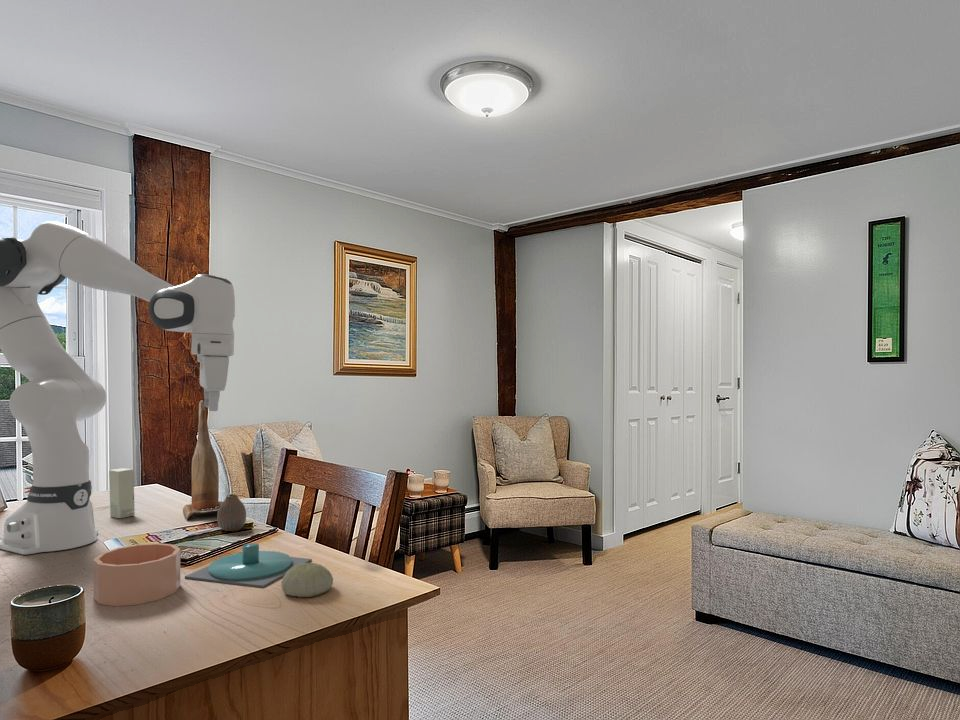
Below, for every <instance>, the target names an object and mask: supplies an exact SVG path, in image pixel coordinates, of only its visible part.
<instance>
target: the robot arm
mask: <svg viewBox="0 0 960 720" xmlns="http://www.w3.org/2000/svg"><path fill="white" fill-rule="evenodd" d="M65 279H69V280H71V281H72V282H73V283H77V284H79V285H82V286H84V287H88V288H91V289H93V290H98V291H106V292H110V293H111V292H113V293H119V294H122V295H123V294H124V295H129V296H134V297H136V298H139V299H142V300H144V301H146V302H148V316H149V319H150V320H151V322H152V323H153V325H154V326H155V327H157V328H159V329H161V330H164V331H168V332H175V333H176V332H178V333H188V334H191V344H190V345H191V349H190V350H191V351H190V352H191V353H190V354H191V355H195V356H196V358H197V359H196V362H197V363H199V364H200V365H199V386H201V387H202V388H203V396H204V406H205V408H208V410H209V412H217V411H219V400H220V397H221V396H220V395H221V392H223V391H225V389H226V386H227V381H228V375H229V364H230V357H232V356H234V355H235V353H234V351H235V331H234V327H233V325H234V319H235V316H236V314H235V313H236V301H235V300H236V298H235V297H236V296H235V289H234V286H233V283H232V282H231V281H230V280H228V279H227V278H223V277H221V276H216V275H212V274H208V273H207V274H205V273H200V274H197V275H196V276H194V277H193V278H192V279H190V280H189V281H187V282H185V283H182V284H179V285H174V284H172V283H170V282H168V281H167V280H165V279H163V278H160V277H158V276H157V275H155V274H153V273H151V272H149V271H147V270H146V269H144V268H142V267H141V266H140V265H138V264H137V263H135V262H134V261H132V260H131V259H129V258H128V257H126V256H125V255H123V254H121V253H120V252H119V251H117V250H116V249H114V248H113V247H112V246H110V245H108V244H107V243H105V241H104V242H103V241H102V240H100V239H99V238H97V237H95V236H94V235H91V234H89V233H87V232H86V231H83V230H81V229H79V228H76V227H74V226H71V225H68V224H65V223H62V222H59V221H53V220H52V221H51V220H50V221H45V222H43V223H40V224H39V225H38V226H36V227H35V228H34V229H33V231H32V233H31V235H30V237H29V238H27V239H22V238H21V239H17V237H14V236H12V237H11V236H8V237H0V350H1V353H2V354H3V356H4V358H5V360H6V361H7V363H8V365H9V366H10V367H11V368H12V369H13V370H14V371H16V372H18V373H20V374H21V375H22V376H24V377H25V378H26V379H27V380H28V381H27V382H24V383H22V384H20V385H18V386H17V387H16V388H15V389H14V390H13V391H12V393H11V395H10V396H9V397H10V398H9V402H8V404H9V410H10V413H11V414H12V416H13V418H14V419H15V420H16V421H17V422H18V423H19V424H20V425H22V427H23V429H24V431H25V433H26V436H27V438H28V442H29V445H30V448H31V453H32V485H31V486H28V487H24V490H25V491H24V492H23V493H24V494H28V495H27V498H26V502H24V504H22V505H21V506H20V507H19V508H18V509H16V510H15V511H14V512H12V513H11V514H10V515H9V516H8V517H7V518H6V519H5V521H4V524H3V526H4V527H3V536H1V537H0V550H4V551H8V552H12V553H15V554H20V555H32V554H39V553H44V552H45V553H47V552H57V551H62V550H63V551H64V550H69V549H75V548H79V547H83V546H86V545H89V544H92V543H93V542H96V541H97V539H98V534H99V529H98V528H96V524H95V514H94V506H93V502H92V500H91V496H92V489H93V488H92V487H93V485H92V481H91V479H90V450H89V447H88V446H87V444H86V443H85V442H84V441H83V439H82V438H81V435H80V433H79V432H80V431H79V430H78V426H77V422H81V421H85V420H88V419H89V418H92V417H94V416H95V415H96V414H98V413H100V412H101V411H102V410H103V409H104V407H105V405H106V400H107V394H106V391H105V388H104V386H103V385H102V384H101V383H100V382H99V381H97V380H96V379H94V378H92V377H91V376H90V375H89V374H88V373H87V372H86V371H85V370H83V368H82V367H81V366H80V365H79V364H78V363H77V362H76V361H75V359H74V358H73V357H72V356H71V355H70V353H68V351H67V350H66V349H65V348H64V347H63V344H62V343H61V342H60V340H59V339H58V337H57V335H56V333H55V332H54V330H53V328H52V326H51V324H50V322H49V321H48V319H47V317H46V315H45V314H44V312H43V310H42V309H41V307H40V305H39V302H38V296H39V295H40V296H43V295H48V294H50V293H51V291H53V290H54V288H56V287H57V286H58V285H60V284H62V283H63V282H64V281H65Z"/></svg>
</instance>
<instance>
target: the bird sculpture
mask: <svg viewBox="0 0 960 720" xmlns="http://www.w3.org/2000/svg"><path fill="white" fill-rule="evenodd" d="M210 437H211V436H210V432H209V425H208V420H207V413H206V407H205V401H204V400H203V399H201V400H200V401H199V405H198V425H197V441H196V446H195V448H194V452H193V456H192V459H191V503H190V504H185V505H184V506H183V508H182V513H183V516H184V519H185V521H188V519H189V518H190V517H191V516H192V515H195V513H201V512H210V511H218V509H219V507H220V505H221V504H222V503H223V501H222V500H221V501H220V500H219V496H220V495H219V493H220V492H219V488H220V485H219V482H220V475H219V462H218V457H217V455H216V451H215V449H214V447H213V445H212V442H211V438H210Z"/></svg>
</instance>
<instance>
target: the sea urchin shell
mask: <svg viewBox="0 0 960 720" xmlns="http://www.w3.org/2000/svg"><path fill="white" fill-rule="evenodd" d="M333 585H334V577H333V574H332V573H331V572H330V570H329V569H328V568H326V566H323V565H321V564H319V563H316V562H309V563H302V564H297V565H295V566H293V567H291V568H290V569H289V570H288V571H287V572H286V573H285V575H284V576H283V577H282V579H281V589H282V591H283V593H284V594H286V595H287V596H290V597H291V596H292V597H295V596H297V597H298V598H311V597H314V596H320V595H321V594H324V593H326V592H328V591H329V590H330V589H331V588H332V586H333Z"/></svg>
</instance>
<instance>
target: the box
mask: <svg viewBox="0 0 960 720" xmlns="http://www.w3.org/2000/svg"><path fill="white" fill-rule="evenodd" d="M134 474H135V471H134V469H133V468H126V467H123V468H115V469H110V470H109V473H108V477H109V515H110V517H111V518H116V519H124V518H129V517H132V516H135V515H136V514H135V480H134V479H135V478H134Z"/></svg>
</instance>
